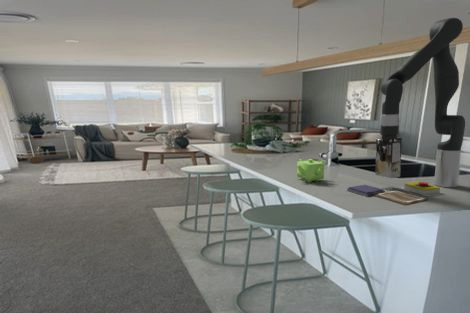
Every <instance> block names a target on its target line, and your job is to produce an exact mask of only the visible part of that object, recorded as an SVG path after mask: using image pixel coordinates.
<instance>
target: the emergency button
mask: <svg viewBox="0 0 470 313" xmlns="http://www.w3.org/2000/svg"><path fill="white" fill-rule="evenodd" d="M401 188H402V189H401ZM400 189H401V190H405V191H409V192H411V191H412V192H413V193H414V194H419V195H421V194H422V195H421V196H426V197H432V196H441V195H443V193H442V192H441V190H440V189H441V186H437V185H435V184H434V185H433V184H429V183H428V182H425V181H413V182H405V183H404V185H403V186H401V187H400ZM412 192H411V193H412Z"/></svg>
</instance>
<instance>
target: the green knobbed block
mask: <svg viewBox="0 0 470 313" xmlns="http://www.w3.org/2000/svg"><path fill="white" fill-rule="evenodd" d="M298 160H299V161H298ZM298 160H297V165H296V168H297V170H296V176H297V178H300V181H305V180H306V183H312V181H315V182H320V181H321V180H324V179H325V163H324V162H326V159H325V160H321V161H316V160H314V159H312V158H309V159H307V160H303V159H301V158H299V159H298Z"/></svg>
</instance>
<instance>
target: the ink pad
mask: <svg viewBox="0 0 470 313" xmlns="http://www.w3.org/2000/svg"><path fill="white" fill-rule="evenodd" d="M346 191H348V192H351V193H354V194H357V195H360V196H363V197H373V196H375V195H376V194H380V193H386V190H384V188H379V187H376V186H373V185H368V184H360V185H354V186H349V187H348V188H347V189H346Z"/></svg>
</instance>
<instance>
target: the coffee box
mask: <svg viewBox="0 0 470 313" xmlns="http://www.w3.org/2000/svg"><path fill="white" fill-rule="evenodd" d="M383 146H384V147H385V146H387V149H386V152H385V154H386V156H385V162H382V161H380V153H379V152H377V151H376V150H375V176H379V177H383V178H384V177H385V178H390V179H396V178H399V177H401V168H402V167H401V161H402V141H401V142H387V143H386V144H385V143H384V142H383ZM379 150H380V147H379ZM383 150H384V148H383Z"/></svg>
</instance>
